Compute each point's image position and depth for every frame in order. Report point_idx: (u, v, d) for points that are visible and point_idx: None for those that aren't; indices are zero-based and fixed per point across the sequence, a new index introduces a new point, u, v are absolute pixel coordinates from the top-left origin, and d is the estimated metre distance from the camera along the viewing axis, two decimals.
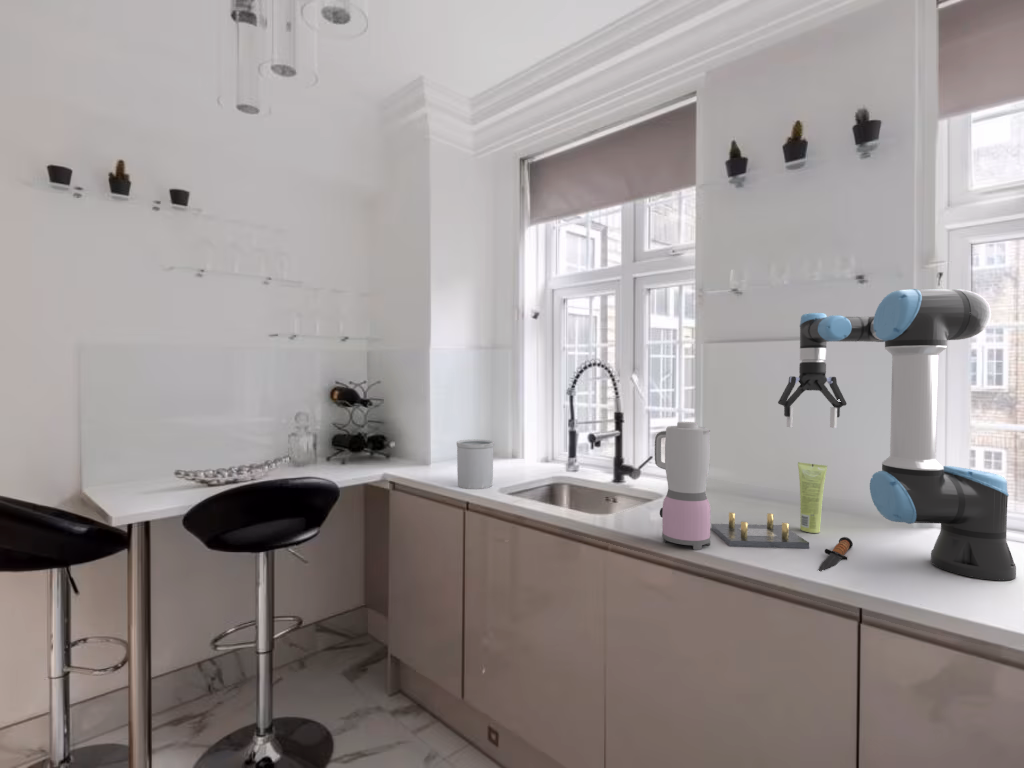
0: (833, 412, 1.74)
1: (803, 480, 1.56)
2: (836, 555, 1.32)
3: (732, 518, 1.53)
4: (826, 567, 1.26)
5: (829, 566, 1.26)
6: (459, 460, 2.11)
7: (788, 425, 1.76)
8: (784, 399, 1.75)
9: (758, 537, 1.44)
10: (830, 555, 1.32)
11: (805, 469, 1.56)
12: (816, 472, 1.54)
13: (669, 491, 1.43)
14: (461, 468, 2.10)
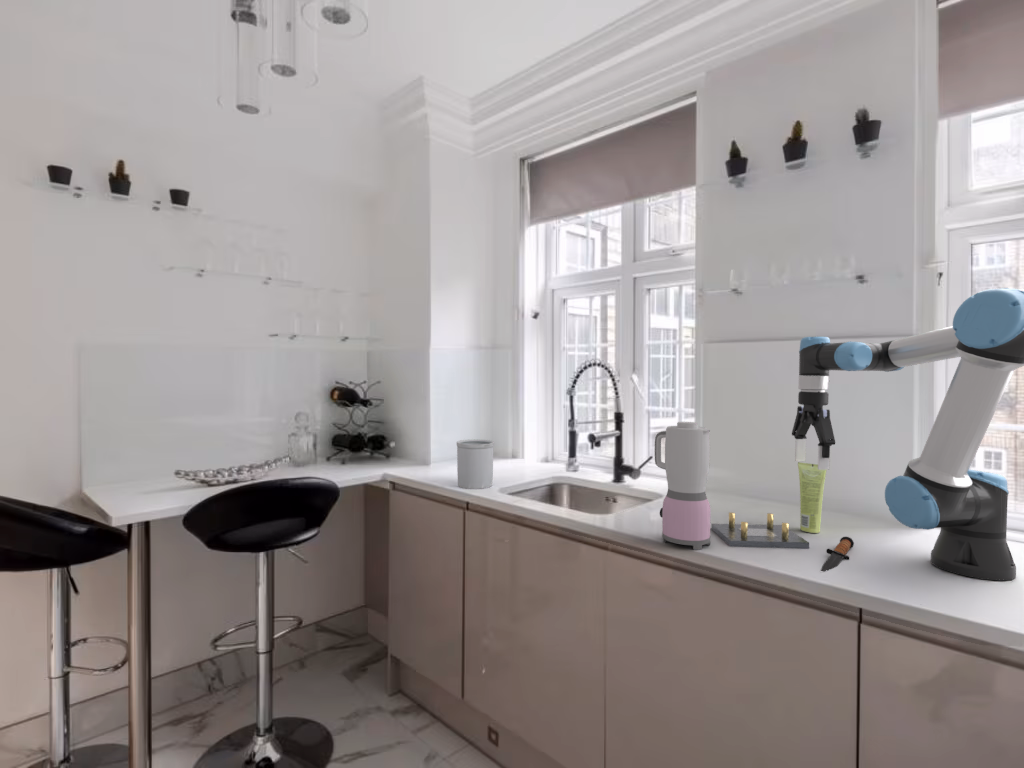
0: None
1: (803, 480, 1.56)
2: (838, 555, 1.32)
3: (732, 518, 1.53)
4: (829, 567, 1.26)
5: (832, 566, 1.26)
6: (459, 460, 2.11)
7: None
8: (793, 430, 1.64)
9: (758, 537, 1.44)
10: (832, 555, 1.32)
11: (805, 469, 1.56)
12: (816, 472, 1.54)
13: (669, 491, 1.43)
14: (461, 468, 2.10)
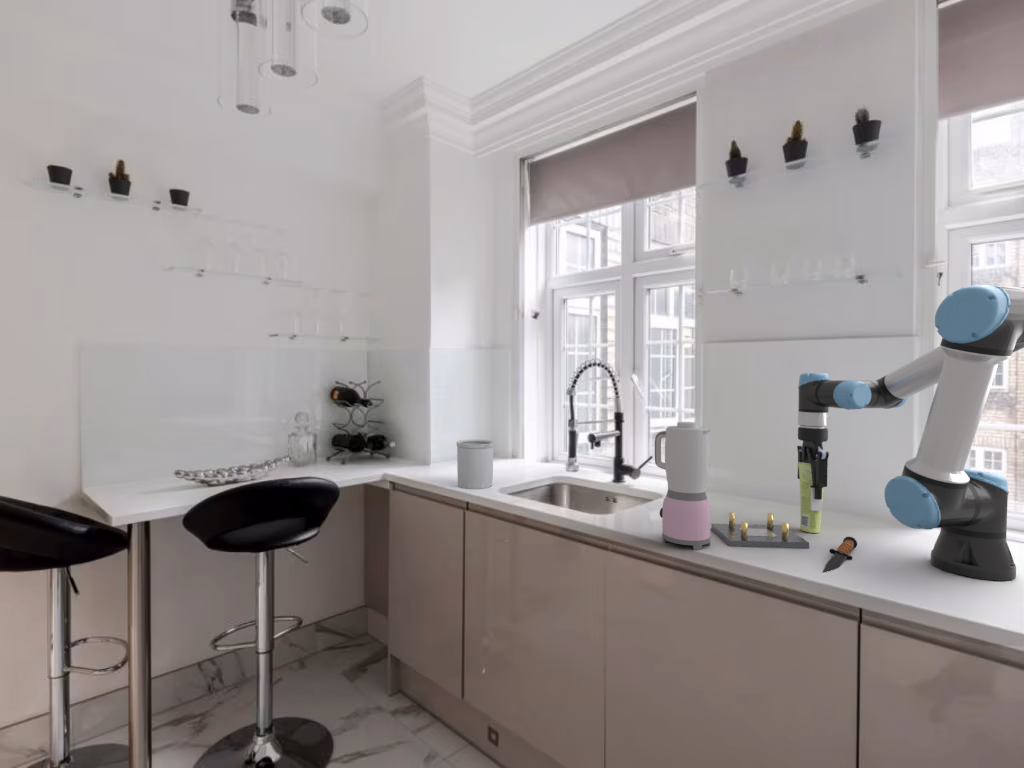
0: None
1: (803, 480, 1.55)
2: (841, 555, 1.32)
3: (732, 518, 1.53)
4: (832, 567, 1.26)
5: (834, 566, 1.26)
6: (459, 460, 2.11)
7: None
8: (798, 472, 1.61)
9: (758, 537, 1.44)
10: (835, 555, 1.32)
11: (805, 469, 1.56)
12: None
13: (669, 491, 1.43)
14: (461, 468, 2.10)
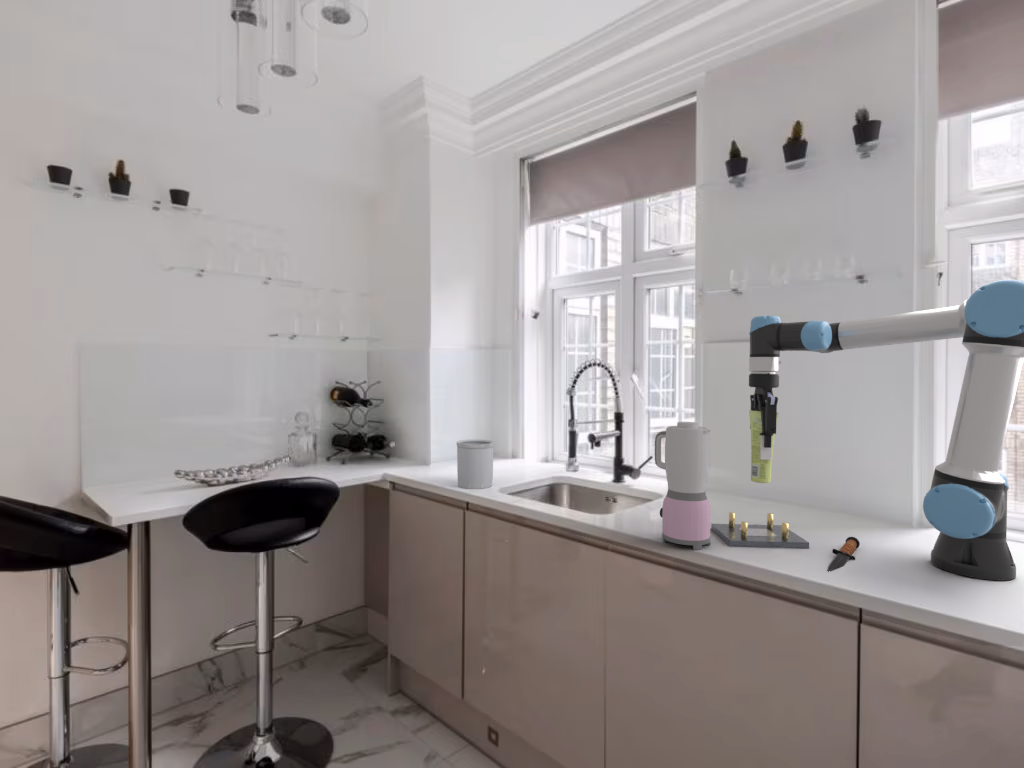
0: None
1: (753, 429, 1.49)
2: (844, 555, 1.32)
3: (732, 518, 1.53)
4: (835, 567, 1.26)
5: (838, 566, 1.26)
6: (459, 460, 2.11)
7: None
8: None
9: (758, 537, 1.44)
10: (838, 555, 1.32)
11: (756, 417, 1.49)
12: None
13: (669, 491, 1.43)
14: (461, 468, 2.10)
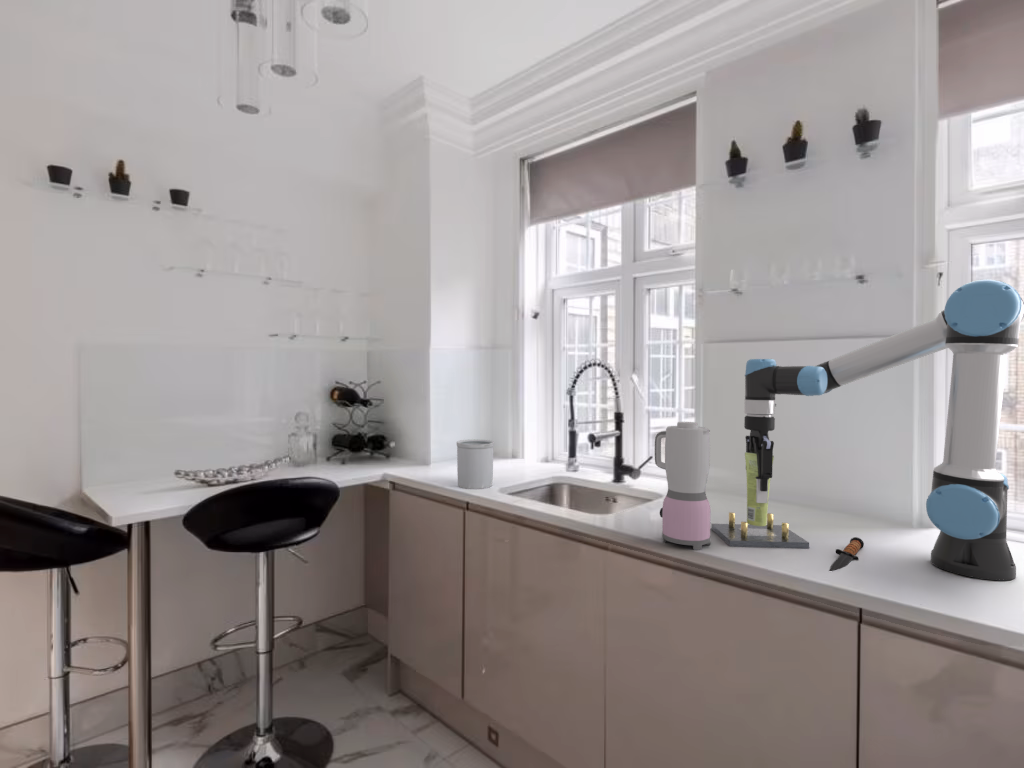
0: None
1: (749, 471, 1.48)
2: (847, 555, 1.32)
3: (732, 518, 1.53)
4: (837, 567, 1.26)
5: (840, 566, 1.26)
6: (459, 460, 2.11)
7: None
8: None
9: (758, 537, 1.44)
10: (841, 555, 1.32)
11: (752, 460, 1.49)
12: None
13: (669, 491, 1.43)
14: (461, 468, 2.10)
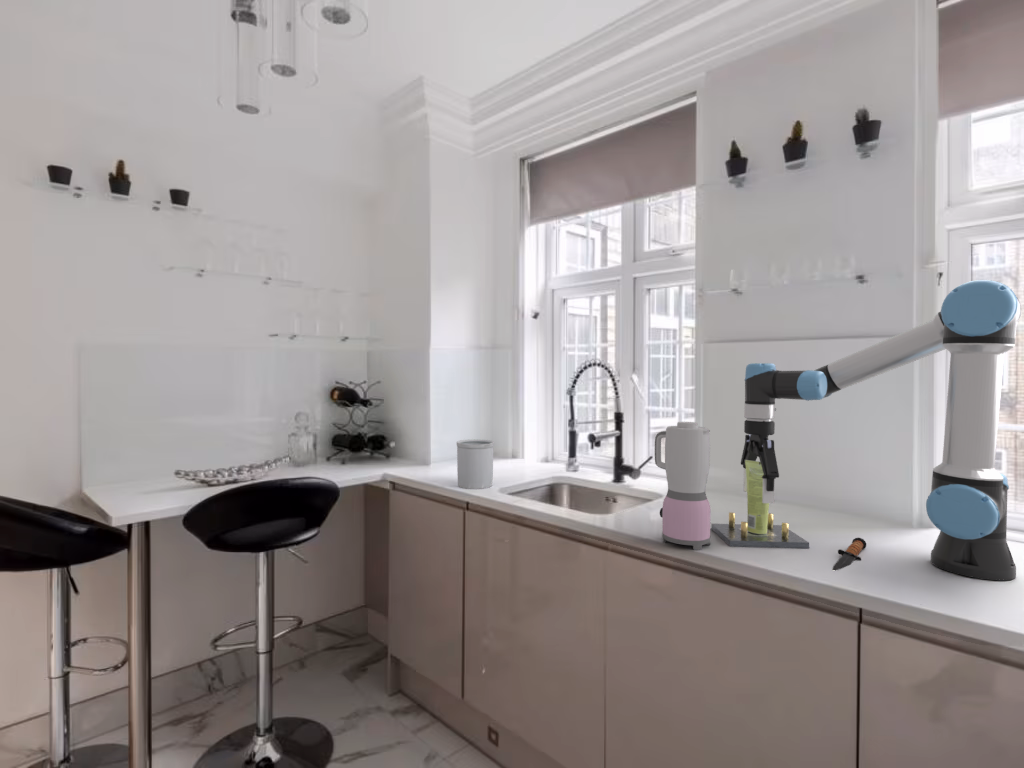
0: None
1: (749, 479, 1.48)
2: (849, 556, 1.32)
3: (732, 518, 1.53)
4: (840, 568, 1.26)
5: (842, 567, 1.26)
6: (459, 460, 2.11)
7: None
8: (742, 459, 1.57)
9: (758, 537, 1.44)
10: (843, 556, 1.32)
11: (752, 467, 1.49)
12: None
13: (669, 491, 1.43)
14: (461, 468, 2.10)
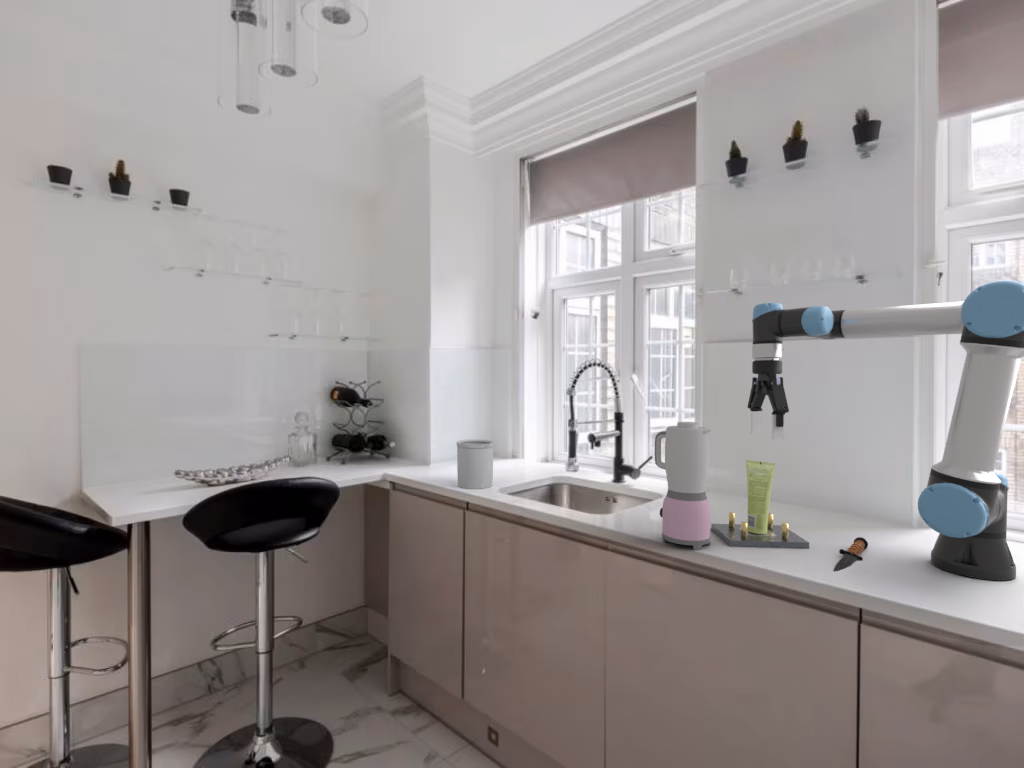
0: None
1: (750, 479, 1.48)
2: (851, 555, 1.32)
3: (732, 518, 1.53)
4: (841, 567, 1.26)
5: (844, 566, 1.26)
6: (459, 460, 2.11)
7: None
8: (748, 402, 1.59)
9: (758, 537, 1.44)
10: (845, 555, 1.32)
11: (753, 467, 1.49)
12: (764, 470, 1.47)
13: (669, 491, 1.43)
14: (461, 468, 2.10)
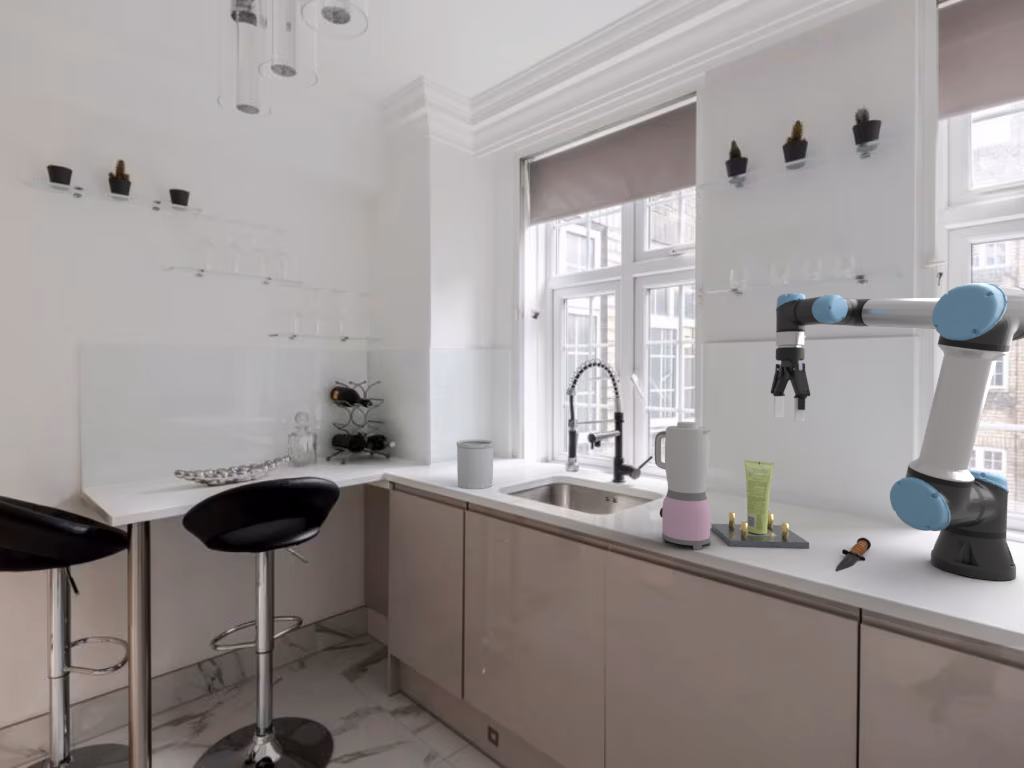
0: None
1: (749, 479, 1.48)
2: (854, 555, 1.32)
3: (732, 518, 1.53)
4: (843, 568, 1.26)
5: (846, 566, 1.26)
6: (459, 460, 2.11)
7: None
8: (772, 388, 1.68)
9: (758, 537, 1.44)
10: (847, 556, 1.32)
11: (751, 467, 1.49)
12: (762, 470, 1.47)
13: (669, 491, 1.43)
14: (461, 468, 2.10)
